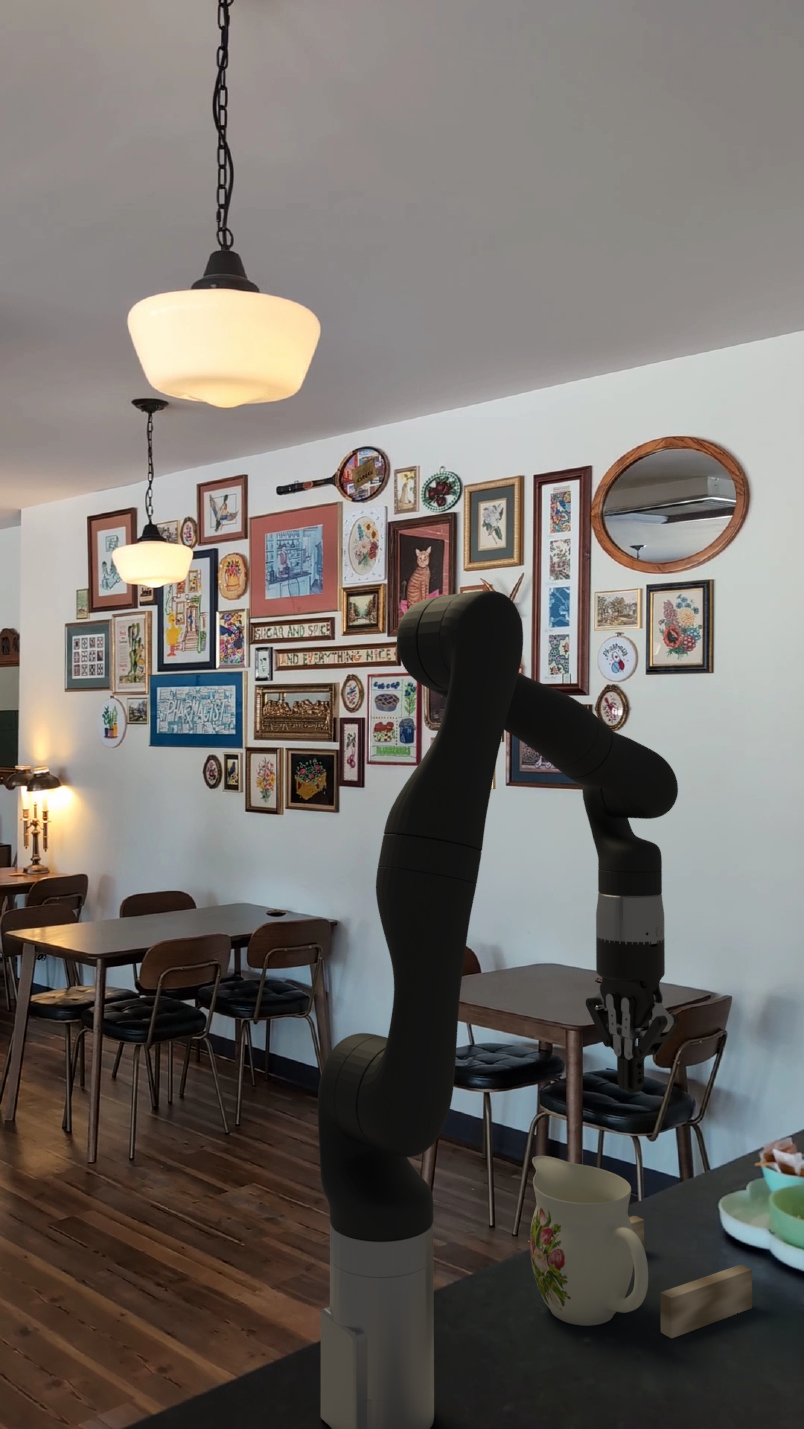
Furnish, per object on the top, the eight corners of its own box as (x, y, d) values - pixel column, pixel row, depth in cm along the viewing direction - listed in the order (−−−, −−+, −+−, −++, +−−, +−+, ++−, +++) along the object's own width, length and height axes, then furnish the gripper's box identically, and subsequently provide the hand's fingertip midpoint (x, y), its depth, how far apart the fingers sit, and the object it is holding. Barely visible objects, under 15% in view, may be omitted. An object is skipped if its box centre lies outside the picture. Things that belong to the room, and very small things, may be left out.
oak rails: (671, 1338, 117) (671, 1298, 117) (557, 1274, 132) (557, 1238, 132) (752, 1307, 124) (751, 1269, 124) (635, 1249, 138) (634, 1215, 138)
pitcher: (601, 1367, 112) (601, 1222, 112) (496, 1291, 127) (496, 1164, 128) (687, 1339, 117) (686, 1201, 118) (576, 1269, 133) (576, 1147, 133)
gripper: (565, 929, 134) (566, 1082, 133) (647, 944, 122) (648, 1111, 122) (614, 924, 138) (615, 1072, 137) (698, 939, 126) (699, 1100, 126)
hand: (630, 1090), depth 129 cm, fingers closed
